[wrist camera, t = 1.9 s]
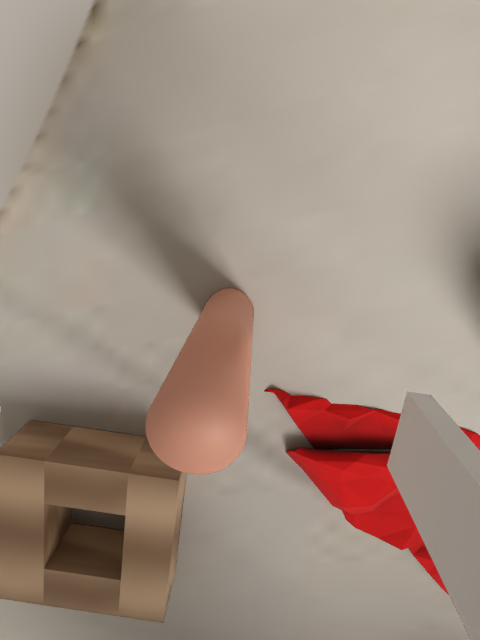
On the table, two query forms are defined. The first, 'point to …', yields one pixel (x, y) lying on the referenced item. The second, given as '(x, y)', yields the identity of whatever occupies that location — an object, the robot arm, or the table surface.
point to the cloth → (358, 468)
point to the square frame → (82, 540)
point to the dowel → (206, 390)
